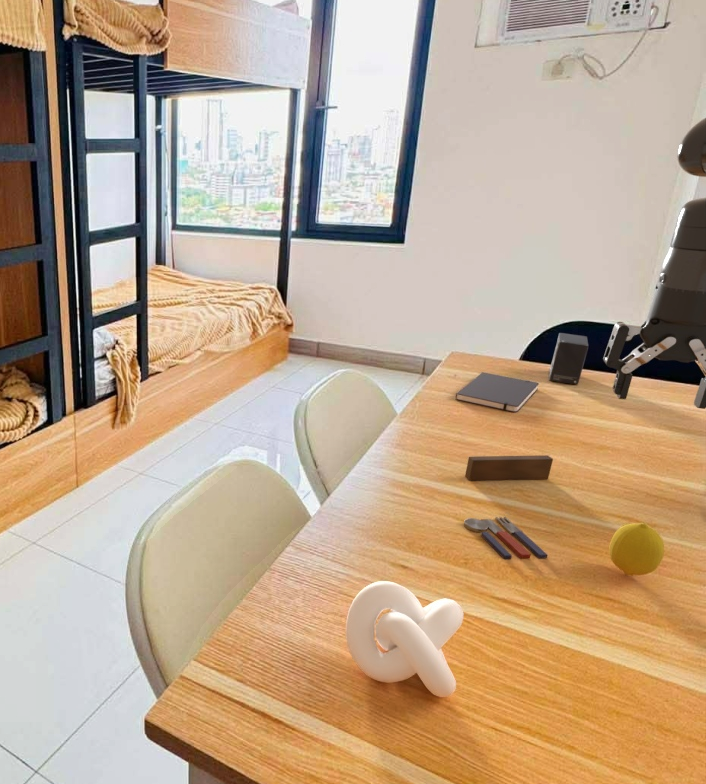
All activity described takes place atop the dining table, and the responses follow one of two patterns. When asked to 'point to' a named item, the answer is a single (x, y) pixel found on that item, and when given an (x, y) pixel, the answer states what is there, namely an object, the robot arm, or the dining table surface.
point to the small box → (568, 358)
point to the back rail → (508, 467)
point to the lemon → (636, 549)
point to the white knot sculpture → (402, 636)
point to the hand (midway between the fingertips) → (658, 402)
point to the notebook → (498, 392)
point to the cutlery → (505, 537)
